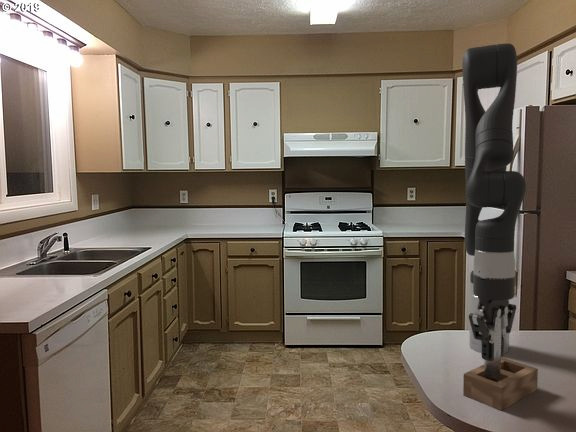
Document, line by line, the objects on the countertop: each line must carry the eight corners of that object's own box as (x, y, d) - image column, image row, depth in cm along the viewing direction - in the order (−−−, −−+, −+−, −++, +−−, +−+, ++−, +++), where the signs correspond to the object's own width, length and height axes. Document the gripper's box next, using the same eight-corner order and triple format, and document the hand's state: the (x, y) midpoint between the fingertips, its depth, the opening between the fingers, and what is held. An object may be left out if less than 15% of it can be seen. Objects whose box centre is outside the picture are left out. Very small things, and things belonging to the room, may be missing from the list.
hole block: (500, 376, 101) (500, 356, 101) (537, 389, 95) (537, 368, 94) (463, 395, 93) (463, 373, 93) (501, 410, 87) (501, 387, 86)
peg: (489, 370, 94) (490, 313, 93) (503, 375, 91) (504, 316, 90) (481, 374, 92) (482, 316, 91) (495, 379, 90) (496, 319, 89)
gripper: (495, 265, 97) (493, 344, 98) (456, 274, 89) (455, 360, 90) (531, 270, 91) (529, 355, 92) (492, 281, 83) (490, 373, 84)
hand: (492, 357), depth 91 cm, fingers closed on peg, 3 cm apart
